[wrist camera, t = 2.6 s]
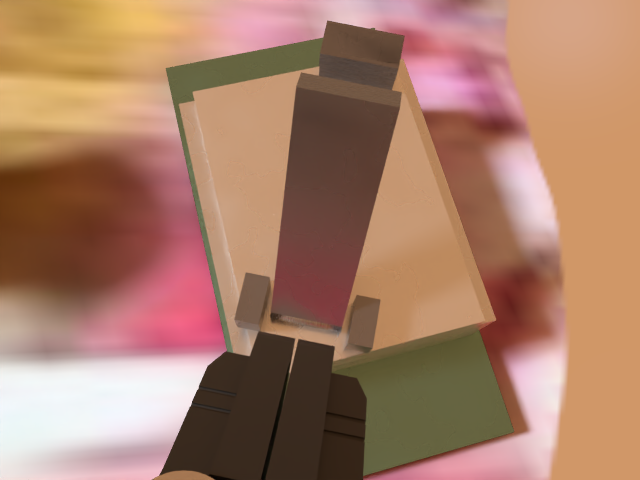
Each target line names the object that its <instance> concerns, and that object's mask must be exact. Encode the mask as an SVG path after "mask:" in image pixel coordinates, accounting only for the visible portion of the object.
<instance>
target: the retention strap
mask: <svg viewBox="0 0 640 480" xmlns="http://www.w3.org/2000/svg"><path fill="white" fill-rule="evenodd" d="M401 96H402V92H399V91H393V90H388V89H383V88H378V87H373V86H368V85H363V84H358V83H353V82H348V81H343V80H338V79H333V78H328V77H323V76H318V75H312V74H307V73H302V72H301V74H300V77H299V80H298V83H297V86H296V92H295V101H294V110H293V118H292V127H291V136H290V145H289V154H288V163H287V172H286V181H285V190H284V199H283V208H282V217H281V225H280V234H279V243H278V252H277V261H276V270H275V279H274V288H273V297H272V306H271V314H270V319H275V320H280V321H285V322H290V323H295V324H300V325H305V326H309V327H314V328H319V329H324V330H329V331H334V332H339V333H341V330H342V326H343V322H344V318H345V314H346V311H347V307H348V303H349V299H350V295H351V292H352V288H353V284H354V280H355V276H356V273H357V269H358V265H359V261H360V258H361V254H362V250H363V246H364V242H365V239H366V235H367V231H368V227H369V223H370V220H371V216H372V212H373V208H374V205H375V201H376V197H377V193H378V189H379V186H380V182H381V178H382V174H383V170H384V167H385V163H386V159H387V155H388V152H389V148H390V144H391V140H392V136H393V133H394V129H395V125H396V121H397V118H398V114H399V110H400V104H401Z"/></svg>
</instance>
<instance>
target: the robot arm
mask: <svg viewBox="0 0 640 480" xmlns="http://www.w3.org/2000/svg"><path fill="white" fill-rule="evenodd" d="M294 344H295V338H291V337H286V336H281V335H276V334H271V333H266V332H262V331H259V332H258V334H257V336H256V339H255V342H254V345H253V348H252V351H251V354H250V356H246V355H241V354H236V353H231V352H227V351H226V352H225V353H223V354H222V355H221V356H220V357H218V358H217V359H216V360H215V361H213V362H212V363H211V364H210V365H209V366H208V367H207V369H206V371H205V374H204V376H203V378H202V380H201V383H200V385H199V389H198V390H197V392H196V394H195V396H194V399H193V401H192V405H191V407H190V408H189V410H188V412H187V415H186V417H185V419H184V422H183V424H182V426H181V428H180V431H179V433H178V435H177V438H176V440H175V442H174V445H173V447H172V449H171V451H170V454H169V456H168V458H167V461H166V463H165V465H164V467H163V469H162V471H161V473H160V475H159V476H158V477H156V478H154V479H152V480H363V469H364V449H365V442H364V441H365V429H366V424H365V422H366V408H367V398H366V396H365V394H364V391H363V389H362V387H361V385H360V383H359V381H358V379H357V378H354V377H349V376H345V375H340V374H335V373H331V372H332V365H333V358H334V350H335V346H331V345H326V344H321V343H316V342H311V341H306V340H302V339H298V343H297V347H296V351H295V356H294V360H293V364H292V368H291V373H290V377H289V381H288V376H289V371H290V365H291V360H292V355H293V349H294ZM287 381H288V385H287ZM286 387H287V390H286ZM285 392H286V394H285Z"/></svg>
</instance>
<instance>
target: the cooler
mask: <svg viewBox="0 0 640 480" xmlns="http://www.w3.org/2000/svg"><path fill="white" fill-rule="evenodd" d="M403 42H404V36H403V35H398V34H393V33H388V32H383V31H377V30H375V28H371V29H367V28H362V27H357V26H352V25H347V24H342V23H337V22H332V21H327V25H326V29H325V33H324V38H319V39H314V40H309V41H304V42H299V43H294V44H288V45H283V46H278V47H273V48H268V49H263V50H257V51H252V52H247V53H242V54H237V55H232V56H227V57H221V58H216V59H211V60H206V61H201V62H196V63H190V64H185V65H180V66H175V67H170V68H166V72H167V76H168V81H169V85H170V90H171V95H172V99H173V104H174V108H175V113H176V118H177V122H178V127H179V132H180V136H181V141H182V145H183V150H184V155H185V159H186V164H187V168H188V173H189V178H190V182H191V187H192V191H193V196H194V201H195V205H196V210H197V214H198V219H199V224H200V228H201V233H202V238H203V242H204V247H205V251H206V256H207V261H208V265H209V270H210V274H211V279H212V284H213V288H214V293H215V297H216V302H217V307H218V311H219V316H220V320H221V325H222V330H223V334H224V339H225V344H226V348H227V352H231V353H236V354H241V355H246V356H250V354H251V351H252V348H253V345H254V342H255V339H256V336H257V334H258V332H259V331H262V332H266V333H271V334H276V335H281V336H286V337H291V338H295V344H294V349H293V355H292V360H291V365H290V371H289V376H288V381H289V377H290V373H291V368H292V364H293V360H294V356H295V351H296V347H297V343H298V339H302V340H306V341H311V342H316V343H321V344H326V345H331V346H335V350H334V358H333V365H332V372H331V373H335V374H340V375H345V376H349V377H354V378H357V379H358V381H359V383H360V385H361V387H362V389H363V391H364V394H365V396H366V398H367V408H366V422H365V424H366V429H365V441H364V442H365V449H364V469H363V476H365V475H368V474H372V473H375V472H378V471H382V470H385V469H389V468H392V467H396V466H399V465H402V464H406V463H409V462H413V461H416V460H420V459H423V458H427V457H430V456H433V455H437V454H440V453H444V452H447V451H451V450H454V449H458V448H461V447H464V446H468V445H471V444H475V443H478V442H482V441H485V440H489V439H492V438H495V437H499V436H502V435H506V434H509V433H513V432H514V430H513V427H512V424H511V421H510V418H509V415H508V412H507V409H506V406H505V404H504V401H503V398H502V395H501V392H500V389H499V386H498V383H497V380H496V378H495V375H494V372H493V369H492V366H491V363H490V360H489V357H488V354H487V352H486V349H485V346H484V343H483V340H482V337H481V334H480V331H479V330H480V329H482V328H484V327H485V326H487V325H489V324H490V323H492V322H494V321H495V320H496V318H495V315H494V312H493V309H492V307H491V304H490V301H489V298H488V295H487V293H486V290H485V287H484V284H483V281H482V279H481V276H480V273H479V270H478V267H477V265H476V262H475V259H474V256H473V253H472V250H471V248H470V245H469V242H468V239H467V236H466V234H465V231H464V228H463V225H462V222H461V220H460V217H459V214H458V211H457V208H456V206H455V203H454V200H453V197H452V194H451V192H450V189H449V186H448V183H447V180H446V178H445V175H444V172H443V169H442V166H441V164H440V161H439V158H438V155H437V152H436V150H435V147H434V144H433V141H432V138H431V136H430V133H429V130H428V127H427V124H426V121H425V119H424V116H423V113H422V110H421V107H420V105H419V102H418V99H417V96H416V93H415V91H414V88H413V85H412V82H411V79H410V77H409V74H408V71H407V68H406V65H405V63H404V60H403V59H400V58H401V53H402V47H403ZM301 72H302V73H307V74H312V75H318V76H323V77H328V78H333V79H338V80H343V81H348V82H353V83H358V84H363V85H368V86H373V87H378V88H383V89H388V90H393V91H399V92H402V96H401V104H400V110H399V114H398V118H397V121H396V125H395V129H394V133H393V136H392V140H391V144H390V148H389V152H388V155H387V159H386V163H385V167H384V170H383V174H382V178H381V182H380V186H379V189H378V193H377V197H376V201H375V205H374V208H373V212H372V216H371V220H370V223H369V227H368V231H367V235H366V239H365V242H364V246H363V250H362V254H361V258H360V261H359V265H358V269H357V273H356V276H355V280H354V284H353V288H352V292H351V295H350V299H349V303H348V307H347V311H346V314H345V318H344V322H343V326H342V330H341V333H339V332H334V331H329V330H324V329H319V328H314V327H309V326H305V325H300V324H295V323H290V322H285V321H280V320H275V319H270V314H271V306H272V297H273V288H274V279H275V270H276V261H277V252H278V243H279V234H280V225H281V217H282V208H283V199H284V190H285V181H286V172H287V163H288V154H289V145H290V136H291V127H292V118H293V110H294V101H295V92H296V86H297V83H298V80H299V77H300V74H301ZM288 381H287V385H288ZM286 390H287V387H286ZM285 394H286V392H285Z"/></svg>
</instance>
